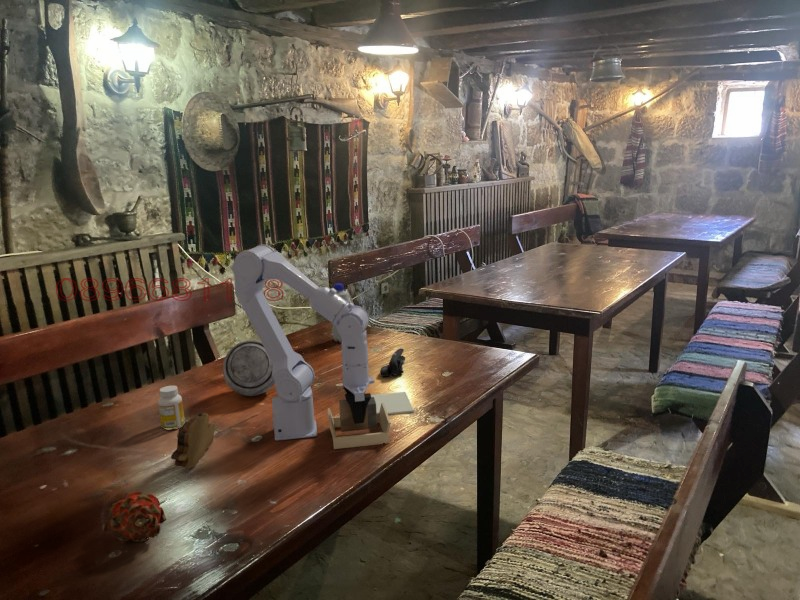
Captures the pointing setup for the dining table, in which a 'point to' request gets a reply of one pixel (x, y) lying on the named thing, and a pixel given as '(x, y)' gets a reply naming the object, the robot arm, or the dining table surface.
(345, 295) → the bottle
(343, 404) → the block
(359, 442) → the wooden box
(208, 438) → the wooden carving
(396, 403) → the mat
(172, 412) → the supplement bottle
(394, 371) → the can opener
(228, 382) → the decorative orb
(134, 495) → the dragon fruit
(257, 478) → the dining table surface
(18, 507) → the dining table surface
